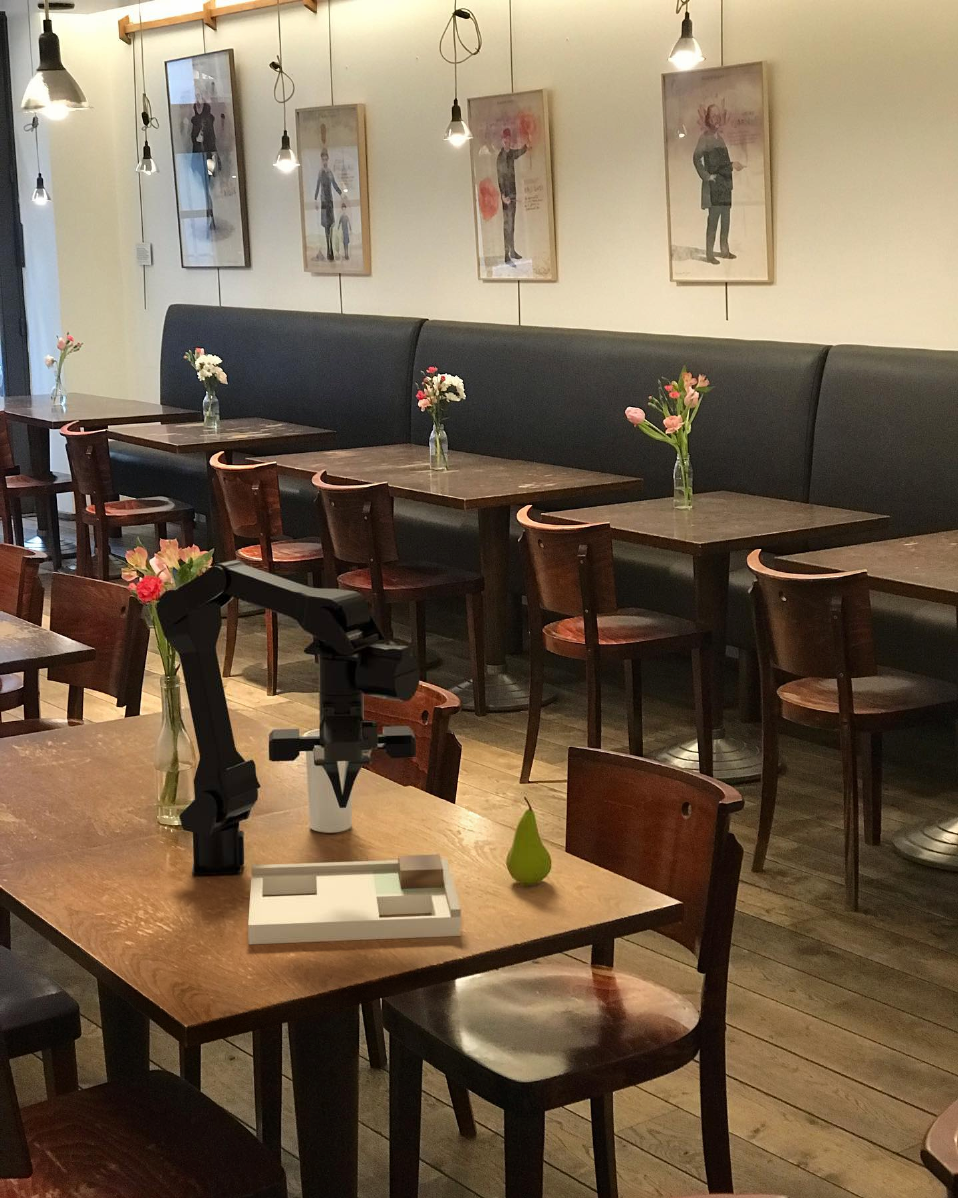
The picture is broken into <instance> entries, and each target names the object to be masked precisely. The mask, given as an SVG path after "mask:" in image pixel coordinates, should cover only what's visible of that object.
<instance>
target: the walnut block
mask: <svg viewBox="0 0 958 1198" xmlns="http://www.w3.org/2000/svg"><path fill="white" fill-rule="evenodd" d="M441 859H442V858H441V855H440V853H439V854H414V855H413V854H409V855H397V860H398V875H399V881H400V887H401V889H412V888H440V887H443V866H442V862H441Z"/></svg>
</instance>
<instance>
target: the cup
mask: <svg viewBox="0 0 958 1198" xmlns="http://www.w3.org/2000/svg"><path fill="white" fill-rule="evenodd" d="M306 736H319V728H318V729H316V728H315V729H312V730H309V731H306V732H305V733H304V734H303V735H302V736H301V737H306ZM305 763H306V764H305V765H306V780H307V781H306V782H307V797H308V798H307V799H308V812H309V813H308V814H309V828H310V829H311V830H313V831H314V832H315V831H316V832H320V833H327V834H329V833H340V832H345V831H347V830H349V829H351V827H352V826H353V824H352V821H353V820H352V819H353V793H354V792H353V790H354V789H353V787H354V786H353V787H352V790H351V794H350V797H349V800H348V803H347V806H346V808H340V807H339V804H338V801H337V798H336V795H335V793H334V790H333V787H332V784H331V781H330V779H329V777H328V775H327V773H326V771H325V770H324V768H323V767H322V766H316V765H314V754H313V751H305ZM345 765H346V761H338V768H339V775H340V781H341V788H342V793H343V784H344V774H345Z"/></svg>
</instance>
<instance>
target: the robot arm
mask: <svg viewBox="0 0 958 1198" xmlns="http://www.w3.org/2000/svg"><path fill="white" fill-rule="evenodd" d="M234 599H238V600H240V601H243V602H245V603H248V604H251V605H254V606H256V607H260V608H263V609H265V610H268V611H271V612H274V613H277V614H279V615H282V616H284V617H287V618H290V619H292V620H293V621H295V622H297V623H298V625H299V626H300V627H301V629H302V630H303V631H304V632H305V633H308V634H309V635H311V636H313V637H314V640H313V641H312V642H311V643H310V644H309V645H307V646H306V647H305V648H304V649H303V652H304V654H305V655H310V656H311V655H312V656H318V698H319V699H318V708H319V709H318V710H319V715H318V717H319V718H318V719H319V724H318V725H319V726H318V727H319V728H318V729H319V736H306V737H302V736H300V728H283V729H282V728H279V729H278V728H276V729H274V728H273V729H272V730H271V731H270V733H269V734H268V761H270V762H294V761H295V760H296V759H297V758H298V757H300V755H301V754H300V752H306V751H313V754H314V765H316V766H322V767H323V768H324V770H325V771H326V773H327V775H328V777H329V779H330V781H331V784H332V787H333V790H334V793H335V795H336V798H337V801H338V804H339V807H340V808H346V806H347V803H348V800H349V797H350V794H351V790H352V787H354V784H355V781H356V780H357V776H358V775H359V773H360V771H361V770H362V768H363V766H366V765H370V764H372V758H371V753H372V750H373V751H374V750H385V754H386V755H388V757H390V758H391V759H406V758H407V759H408V758H409V759H412V758H415V757H417V755H416V754H417V751H416V747H417V746H416V745H417V744H416V743H417V742H416V736H415V732H414V730H413V729H412V727H410V725H397V726H396V725H395V726H383V727H382V734H379V730H378V729H379V726H378V721H376V720H365V698H364V696H368V697H376V698H380V699H385V700H386V699H387V700H393V701H400V702H409V701H410V700H411V699H412V698H414V696H415V695H416V693H417V691H418V688H419V685H420V681H421V680H420V679H421V671H420V669H419V666H418V663H417V660H416V659H415V658H414V657H413V656H411V648H410V646H407V645H398V646H397V645H389V644H388V641H389V640H388V638H387V637H386V635H385V633H384V632H383V630H382V629H381V626H380V625H379V623H378V622H377V620H376V619H375V617H374V614H373V613H372V612H371V609H370V606H369V604H368V602H367V598H366V597H365V596H364V595H363V594H362V593H360V592H358V591H354V590H349V589H348V590H347V589H339V588H317V587H310V586H307V585H304V584H301V583H297V582H295V581H293V580H289V579H287V578H284V577H281V576H278V575H276V574H272V573H270V572H266V571H264V570H261V569H259V568H258V569H257V568H255V567H252V566H250V565H246V563H244V561H243V562H242V561H240V560H236V559H235V560H234V559H233V560H229V561H225V562H221V563H220V562H219V563H217V564H213V565H212V566H210V568H209V569H207V570H206V571H205V572H203V573H202V574H200V575H199V576H197V577H194V578H193V579H192V580H190V581H188V582H186V583H184V584H183V585H181V586H179V587H176V588H172V589H169V590H165V591H164V592H163V593H162V594H161V595H160V597H159V599H158V600H157V602H156V606H155V607H156V609H155V610H156V615H157V619H158V622H159V624H160V628H161V630H162V633H163V636H164V639H166V641H167V642H168V643H169V644H170V645H171V647H173V649H174V650H175V651H176V653H177V654H178V655H179V659H180V660H179V661H180V664H181V670H182V675H183V679H184V685H185V688H186V696H187V699H188V704H189V705H188V706H189V709H190V715H191V718H192V719H191V720H192V724H193V730H194V734H195V739H196V744H197V745H196V746H197V749H198V756H199V760H198V762H197V763H198V764H197V767H196V771H195V774H194V778H193V791H194V800H192V802H190V804H189V805H188V806H186V808H185V809H184V810H183V811H182V812H181V813H180V814H179V821H180V823H181V827H182V830H183V831H185V832H190V833H192V853H193V855H192V857H193V865H192V868H191V869H192V871H191V874H192V876H213V875H214V876H216V875H239V874H241V868H242V866H244V865H245V859H246V857H245V831H244V830H240V822H242V821H246V820H248V819H249V817H250V814H251V811H252V808H253V807H254V806H255V804H256V802H258V798H259V790H258V789H260V788H261V783H260V782H259V781H258V780H259V779H258V777H257V767H256V763H255V760H253V759H249V760H245V759H244V757H243V756H242V755H241V754H240V752H239V751H238V750H237V748H236V745H235V738H234V734H233V729H232V723H231V718H230V714H229V708H228V702H227V697H226V694H225V689H224V685H223V684H224V682H223V677H222V673H221V668H220V662H219V658H218V653H217V643H218V639H219V637H220V632H221V629H222V625H223V624H222V623H223V622H222V608H224V607H225V606H226V605H227V604H229V603H230V602H231V601H233V600H234ZM358 635H362V636H360V637H356V636H358ZM352 637H356V638H353V639H350V638H352ZM387 644H388V645H387ZM338 761H346V765H345V774H344V784H343V793H342V788H341V781H340V775H339V768H338Z"/></svg>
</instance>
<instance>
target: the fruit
mask: <svg viewBox="0 0 958 1198" xmlns="http://www.w3.org/2000/svg"><path fill="white" fill-rule="evenodd" d="M523 799H524V801H525V802H526V804H527V806H528V809H526V810H525V811H524V813H523V815H522V816H521V817H520V818H519V819H520V820H519V821H518V823H517V826H516V829H515V831H514V836H513V841H512V845H511V847H510V849H509V851H508V853H507V856H506V862H505V865H506V869H507V870H508V873H509V875H510V876H511V878H512V879H514V880H515V881H516V882H517V883H518V884H521V886H525V887H527V886H528V887H530V886H531V887H532V886H535V885H537V884H539V883H540V882H542V881H543V880H544V879H546V878H547V877H548V875H549V874H550V872H551V870H552V863H553V862H552V861H553V860H552V858H551V854H550V853H549V850H548V849H547V848H546V847H545V845H544V843H543V842H542V840H541V837H540V833H539V831H538V825H537V820H536V816H535V812H534V810H533V808H532V806H531V804H530V801H529V800H528V798H527V797H526V796H524V797H523Z"/></svg>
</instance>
